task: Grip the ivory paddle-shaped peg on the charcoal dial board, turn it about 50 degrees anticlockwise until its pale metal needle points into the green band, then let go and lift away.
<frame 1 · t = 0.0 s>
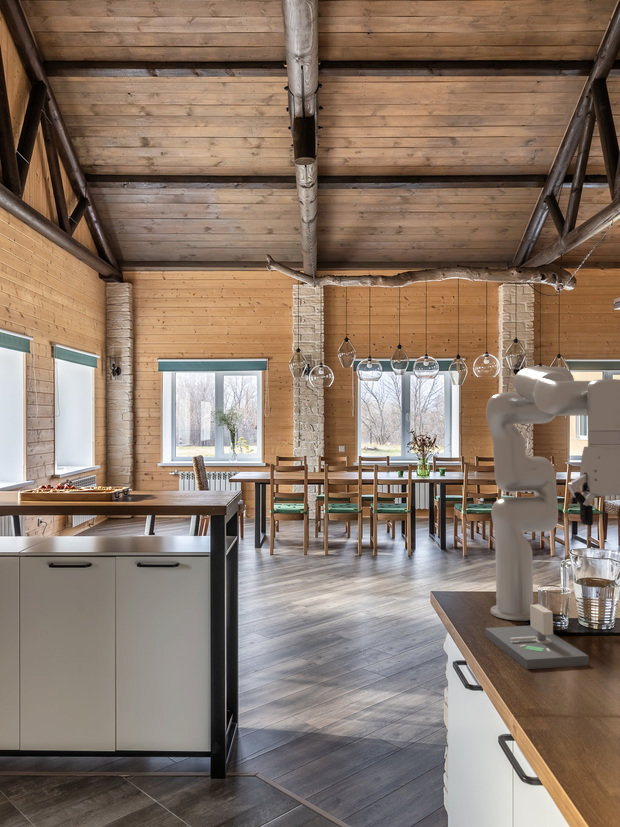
hand: (609, 523, 136), 31 cm above the worktop, fingers open, 9 cm apart
dial board: (533, 649, 153), on the worktop
tuning peg: (528, 624, 153), point 6 cm above the worktop, hinge at 0.0°
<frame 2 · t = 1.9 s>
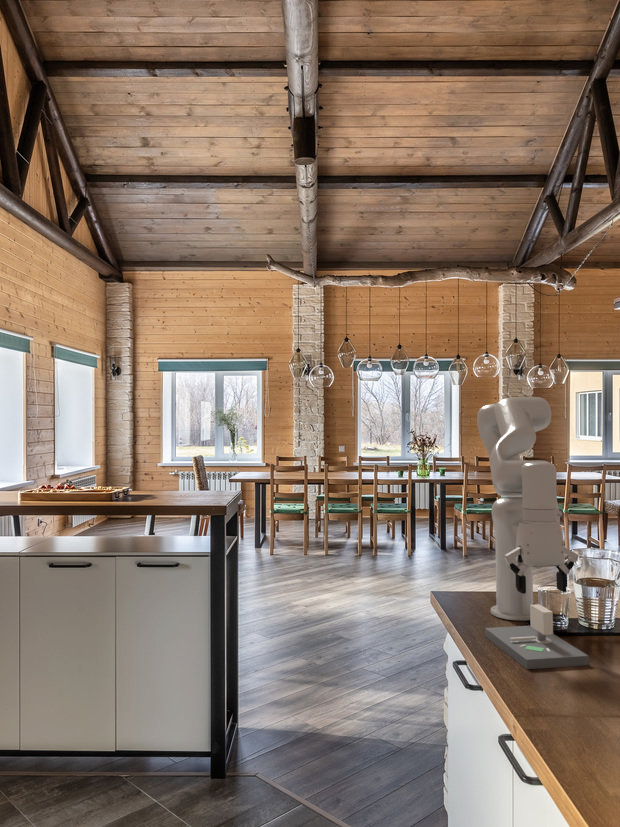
hand: (541, 591, 152), 13 cm above the worktop, fingers open, 9 cm apart
nothing on the worktop moved.
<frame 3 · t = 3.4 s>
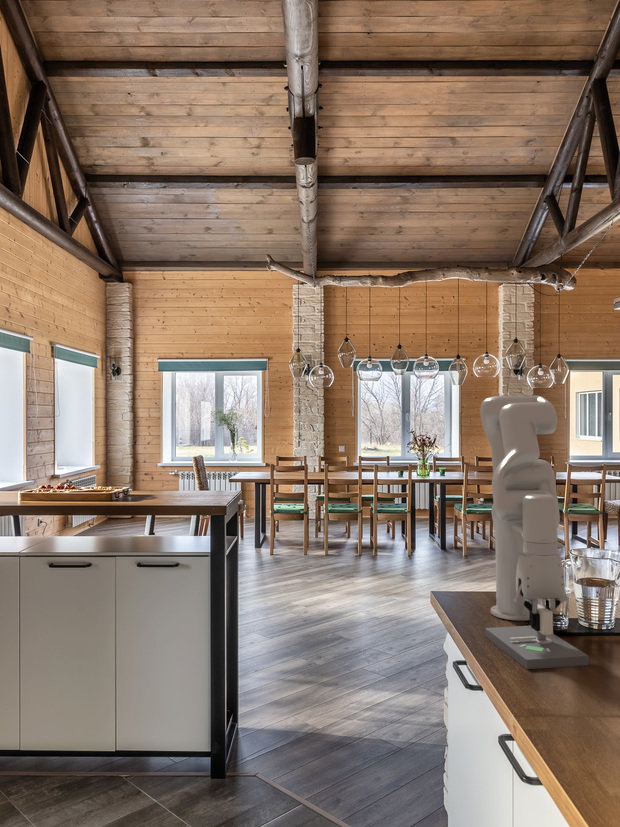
hand: (541, 628, 153), 5 cm above the worktop, fingers closed on tuning peg, 2 cm apart
tuning peg: (528, 624, 153), point 6 cm above the worktop, hinge at 0.0°, touching gripper
everything else where it was.
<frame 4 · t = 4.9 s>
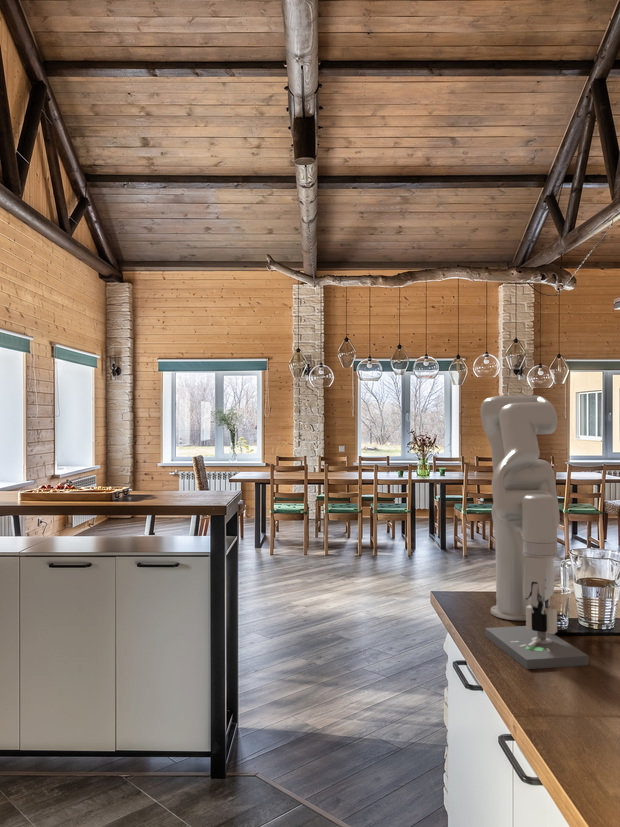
hand: (541, 628, 153), 5 cm above the worktop, fingers closed on tuning peg, 2 cm apart
tuning peg: (536, 626, 151), point 6 cm above the worktop, hinge at 42.7°, touching gripper
everything else where it was.
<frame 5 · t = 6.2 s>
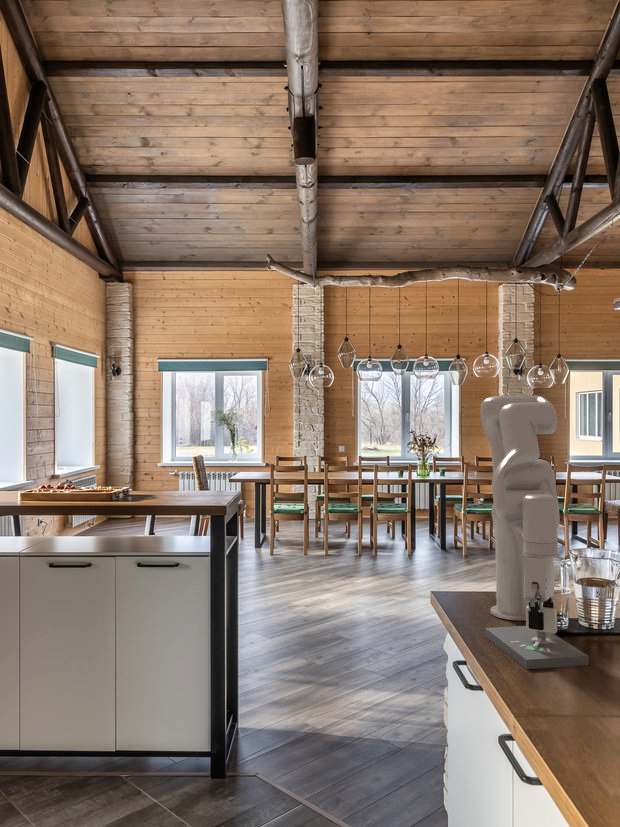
hand: (541, 623, 153), 6 cm above the worktop, fingers open, 9 cm apart
tuning peg: (538, 627, 150), point 6 cm above the worktop, hinge at 51.7°
everything else where it was.
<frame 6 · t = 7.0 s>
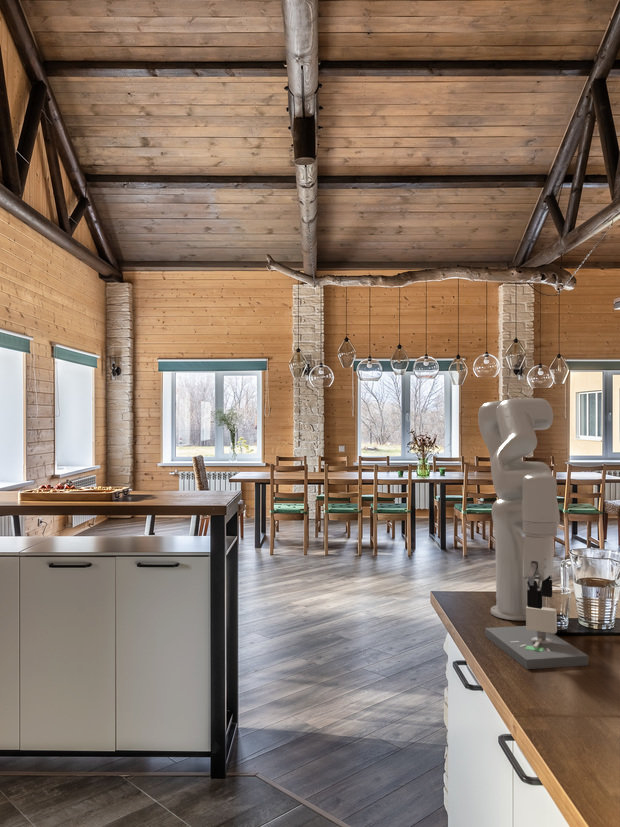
hand: (540, 601, 154), 11 cm above the worktop, fingers open, 9 cm apart
tuning peg: (538, 627, 150), point 6 cm above the worktop, hinge at 52.5°
everything else where it was.
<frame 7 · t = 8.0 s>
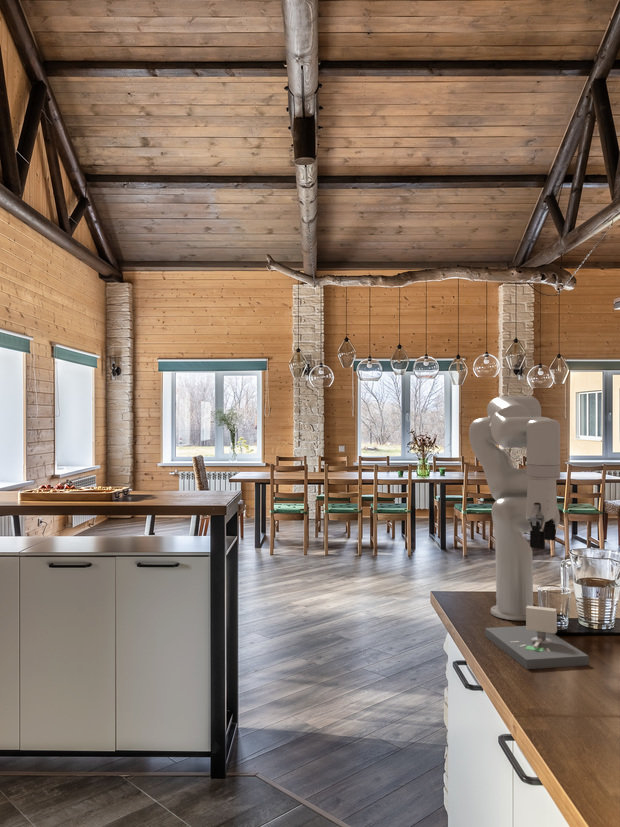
hand: (543, 543, 158), 23 cm above the worktop, fingers open, 9 cm apart
tuning peg: (538, 627, 150), point 6 cm above the worktop, hinge at 52.9°
everything else where it was.
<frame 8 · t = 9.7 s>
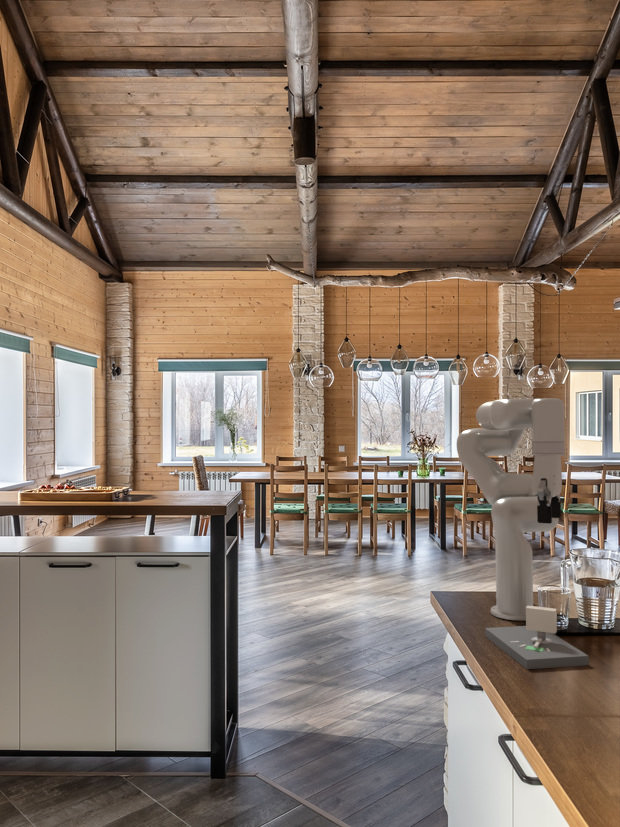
hand: (549, 520, 161), 28 cm above the worktop, fingers open, 9 cm apart
nothing on the worktop moved.
at the end: tuning peg at +53° (first picture: +0°); the gripper is holding nothing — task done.
